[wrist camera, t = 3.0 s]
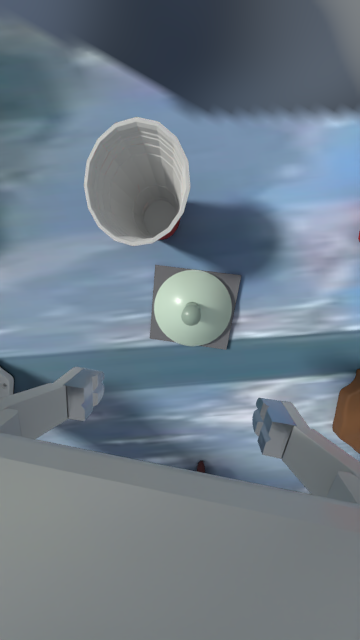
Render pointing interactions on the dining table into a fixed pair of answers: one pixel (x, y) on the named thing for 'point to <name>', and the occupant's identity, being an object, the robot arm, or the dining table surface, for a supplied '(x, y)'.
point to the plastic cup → (137, 182)
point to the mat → (227, 279)
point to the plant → (349, 414)
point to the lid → (192, 307)
